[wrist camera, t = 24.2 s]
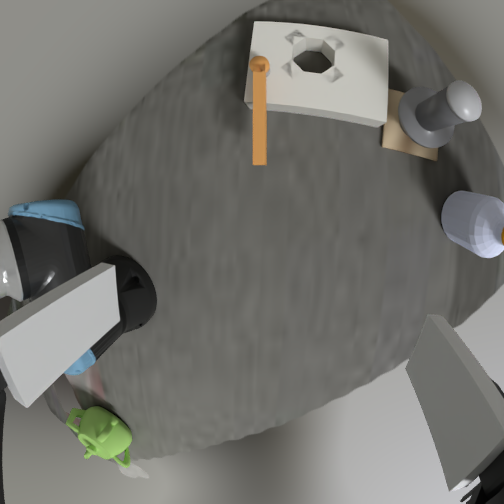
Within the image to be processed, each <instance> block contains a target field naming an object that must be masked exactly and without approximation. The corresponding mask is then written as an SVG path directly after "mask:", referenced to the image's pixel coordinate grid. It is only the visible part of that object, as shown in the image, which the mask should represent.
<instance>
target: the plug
mask: <svg viewBox="0 0 504 504" xmlns="http://www.w3.org/2000/svg"><path fill="white" fill-rule="evenodd" d="M481 111H482V105H481V100H480V98H479V95H478V94H477V92H476V91H475V89H474V88H473V87H472V86H471V85H470V84H468V83H467V82H464V81H460V80H458V81H455V82H453V83H451V84H450V85H449V86H448V87H446V88H444V89H443V90H441V91H439V92H438V93H437V92H436V91H434V90H432V89H430V88H427V87H414V88H412V89H410V90H408V91H407V92H406V93H405V94H404V95H403V96H402V98H401V99H400V102H399V106H398V116H399V123H400V126H401V129H402V130H403V132H404V133H405V134H406V135H407V136H408V137H409V138H410V139H411V140H412V141H414V142H415V143H417V144H418V145H420V146H422V147H426V148H437V147H441V146H443V145H445V144H446V143H448V142H449V140H450V139H451V137H452V135H453V132H454V125H457V124H460V123H463V122H470V121H474V120H476V119H478V118H479V117H480V115H481Z"/></svg>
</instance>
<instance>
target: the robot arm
mask: <svg viewBox="0 0 504 504" xmlns="http://www.w3.org/2000/svg"><path fill="white" fill-rule="evenodd" d="M8 216H9V218H5V219H3V220H0V298H2V297H4V296H11V297H12V298H14V299H16V300H18V301H23V300H25V299H28V298H29V300H30V303H29V304H27V305H26V306H24V307H22V308H21V309H19V310H17V311H16V312H14V313H12V314H11V315H9V316H8V317H6V318H5V319H3V320H1V321H0V504H5V500H4V490H3V475H2V474H3V473H2V441H3V440H2V439H3V423H4V412H5V404H6V393H5V391H4V388H6V387H7V386H8V387H9V389H10V391H11V393H12V395H13V397H14V399H16V400H17V401H18V402H19V403H21V404H22V405H23V406H25V407H26V408H28V407H29V406H30V405H31V404H32V403H33V402H34V401H35V400H36V399H37V398H38V397H39V396H40V395H41V394H42V393H43V392H44V391H45V390H46V389H47V388H48V387H49V386H50V385H51V384H52V383H53V382H54V381H55V380H56V379H57V378H59V376H61V375H62V374H63V373H65V374H68V375H78V374H81V373H82V372H84V371H85V370H86V369H87V368H89V367H90V366H91V365H93V364H94V363H95V362H96V360H97V359H98V358H99V357H100V356H101V355H102V354H103V353H104V352H105V351H106V350H107V349H108V348H109V347H110V346H111V345H112V344H113V343H114V342H115V341H116V340H117V339H118V338H119V337H120V336H121V335H122V334H123V333H126V332H129V331H132V330H135V329H138V328H140V327H142V326H144V325H145V324H146V323H147V322H148V321H149V320H150V319H151V318H152V316H153V315H154V313H155V310H156V305H157V297H156V292H155V288H154V285H153V283H152V281H151V279H150V277H149V276H148V274H147V273H146V272H145V270H144V269H143V268H142V267H141V266H140V265H138V264H137V263H136V262H134V261H133V260H131V259H129V258H126V257H123V256H113V257H110V258H107V259H106V260H104V261H102V262H100V263H99V264H98V265H96V266H94V267H92V268H91V264H90V260H89V255H88V250H87V245H86V240H85V235H84V230H85V229H84V226H83V225H82V221H81V216H80V211H79V208H78V206H77V204H76V203H75V202H73V201H71V200H62V199H61V200H43V201H35V202H30V203H24V204H17V205H13V206H12V207H10V208H9V212H8ZM406 371H407V373H408V375H409V378H410V380H411V383H412V385H413V387H414V390H415V392H416V395H417V397H418V400H419V402H420V405H421V407H422V410H423V413H424V415H425V418H426V421H427V423H428V426H429V429H430V432H431V434H432V437H433V440H434V443H435V446H436V449H437V452H438V455H439V458H440V462H441V465H442V468H443V472H444V475H445V479H446V482H447V486H448V489H449V492H450V491H454V490H458V489H461V488H464V487H467V486H468V485H469V484H470V483H471V482H472V481H474V480H475V479H476V478H477V477H478V476H479V478H480V481H481V482H480V483H479V484H478V485H477V486H475V487H474V488H473V489H472V490H471V491H470V492H469V493H467V494H466V495H465V496H464V497H463V498H462V499H461V501H460V502H463V501H465V500H466V499H467V498H468V497H469V496H471V495H472V496H471V498H470V500H469V501H467V502H466V504H504V393H503V392H502V390H501V389H500V387H499V386H498V385H497V384H496V383H495V382H494V381H493V380H492V379H491V378H490V377H489V376H488V375H487V373H486V372H485V370H484V369H483V367H482V366H481V365H480V363H479V362H478V361H477V360H476V358H475V356H474V355H473V354H472V352H471V351H470V350H469V349H468V347H467V346H466V345H465V343H464V342H463V341H462V339H461V338H460V337H459V336H458V334H457V333H456V332H455V331H454V329H453V328H452V327H451V326H450V324H449V323H448V322H447V321H446V320H445V318H444V317H443V316H442V315H432V314H428V315H427V318H426V320H425V323H424V326H423V328H422V331H421V333H420V336H419V338H418V341H417V343H416V345H415V348H414V350H413V352H412V355H411V357H410V359H409V361H408V364H407V366H406Z"/></svg>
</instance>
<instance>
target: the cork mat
mask: <svg viewBox="0 0 504 504" xmlns="http://www.w3.org/2000/svg"><path fill="white" fill-rule="evenodd" d="M404 94H405V93H403V92H400V91H396V90H392V89H389V88H388V105H387V122H386V123H385V124H384V125H383V137H382V147H384V148H388V149H392V150H397V151H401V152H404V153H408V154H412V155H416V156H419V157H423V158H426V159H430V160H433V161H437V156H438V147H437V148H426V147H422V146H420V145H418V144H417V143H415V142H414V141H412V140H411V139H410V138H409V137H408V136H407V135H406V134H405V133H404V132H403V130H402V129H401V126H400V123H399V116H398V106H399V102H400V99H401V98H402V96H403V95H404Z"/></svg>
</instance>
